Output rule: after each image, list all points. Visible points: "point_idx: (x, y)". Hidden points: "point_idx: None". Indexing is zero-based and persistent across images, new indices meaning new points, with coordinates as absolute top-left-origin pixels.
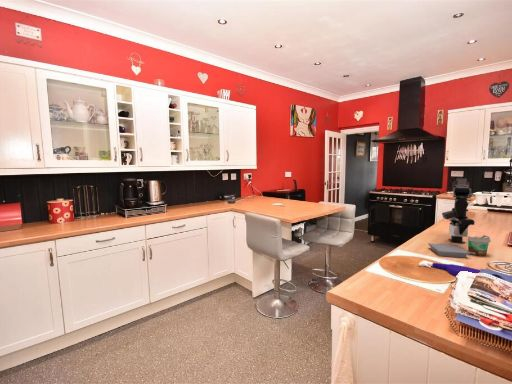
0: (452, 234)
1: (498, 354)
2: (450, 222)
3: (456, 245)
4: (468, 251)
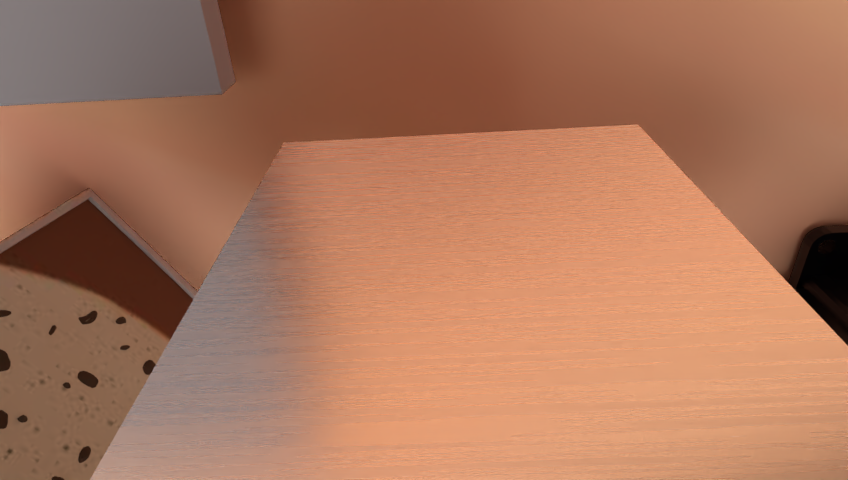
0: (356, 156)
1: None
2: None
3: (174, 88)
4: (53, 210)
